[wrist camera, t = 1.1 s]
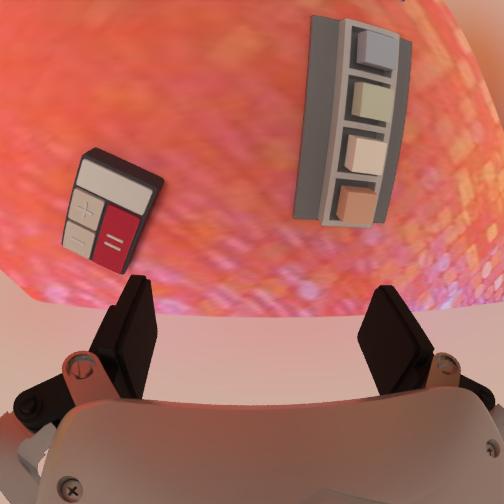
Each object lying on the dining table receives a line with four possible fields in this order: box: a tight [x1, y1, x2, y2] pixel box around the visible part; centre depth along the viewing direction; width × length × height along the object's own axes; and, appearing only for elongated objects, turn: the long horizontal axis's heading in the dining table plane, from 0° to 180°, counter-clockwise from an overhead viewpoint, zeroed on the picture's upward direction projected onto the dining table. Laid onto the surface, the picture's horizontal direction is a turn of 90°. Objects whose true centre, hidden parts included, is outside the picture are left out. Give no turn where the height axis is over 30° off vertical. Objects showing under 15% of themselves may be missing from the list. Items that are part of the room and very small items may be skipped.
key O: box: [344, 134, 387, 175], centre depth 31 cm, size 4×4×2 cm
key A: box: [351, 82, 394, 123], centre depth 28 cm, size 4×4×2 cm
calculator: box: [62, 148, 164, 275], centre depth 36 cm, size 11×4×15 cm
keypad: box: [293, 15, 412, 228], centre depth 32 cm, size 27×14×3 cm, turn 177°
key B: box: [336, 185, 378, 224], centre depth 35 cm, size 4×4×2 cm
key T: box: [356, 30, 398, 71], centre depth 25 cm, size 4×4×2 cm
